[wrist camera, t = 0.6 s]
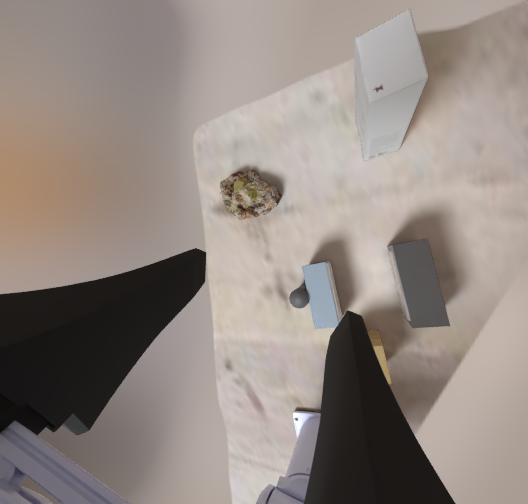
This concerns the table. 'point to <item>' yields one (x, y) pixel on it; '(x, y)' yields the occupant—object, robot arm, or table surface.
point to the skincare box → (387, 84)
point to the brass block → (379, 352)
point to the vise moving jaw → (319, 295)
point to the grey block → (417, 284)
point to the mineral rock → (248, 195)
